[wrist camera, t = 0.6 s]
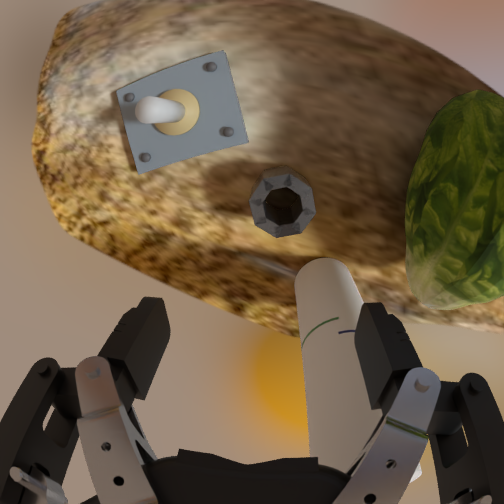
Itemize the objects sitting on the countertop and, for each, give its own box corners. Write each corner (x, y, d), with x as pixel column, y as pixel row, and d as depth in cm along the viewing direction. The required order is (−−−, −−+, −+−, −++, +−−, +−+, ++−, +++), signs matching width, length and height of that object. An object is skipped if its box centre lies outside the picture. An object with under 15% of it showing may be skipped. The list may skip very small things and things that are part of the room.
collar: (301, 162, 27) (308, 170, 22) (311, 213, 29) (318, 230, 25) (248, 173, 28) (244, 183, 23) (260, 222, 30) (258, 241, 26)
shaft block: (225, 53, 22) (208, 27, 15) (248, 141, 26) (240, 148, 19) (122, 91, 24) (77, 87, 16) (144, 172, 28) (104, 191, 21)
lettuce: (340, 242, 31) (404, 372, 17) (415, 52, 17) (565, 90, 4) (432, 260, 35) (491, 350, 21) (498, 123, 21) (594, 186, 8)
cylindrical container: (347, 304, 34) (399, 490, 12) (294, 308, 35) (306, 507, 12) (353, 256, 31) (441, 459, 9) (294, 258, 32) (319, 488, 9)
